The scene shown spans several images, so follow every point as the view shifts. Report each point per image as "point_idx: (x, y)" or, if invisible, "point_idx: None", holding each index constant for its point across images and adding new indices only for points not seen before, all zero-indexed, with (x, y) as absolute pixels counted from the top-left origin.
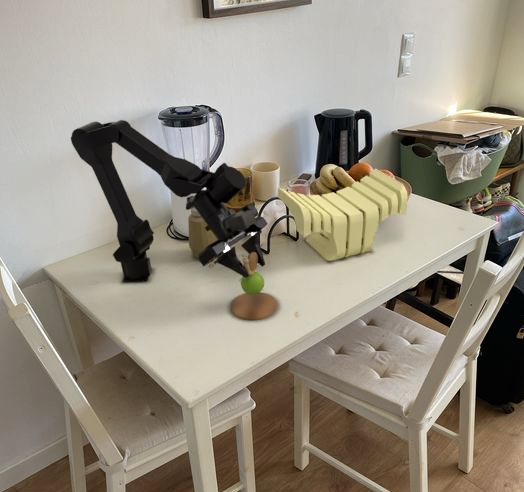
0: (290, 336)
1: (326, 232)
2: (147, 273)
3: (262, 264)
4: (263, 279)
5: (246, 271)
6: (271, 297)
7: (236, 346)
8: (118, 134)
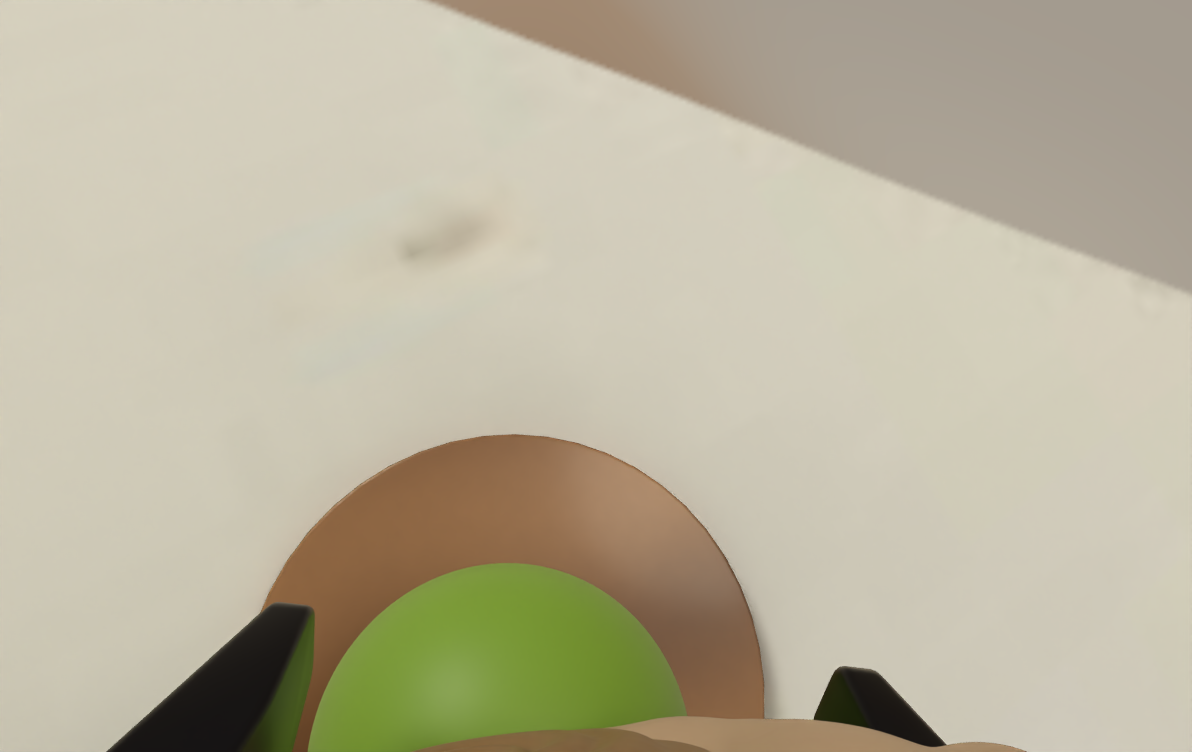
0: (748, 165)
1: None
2: None
3: (305, 659)
4: (416, 595)
5: (896, 735)
6: (298, 583)
7: (1086, 493)
8: None
